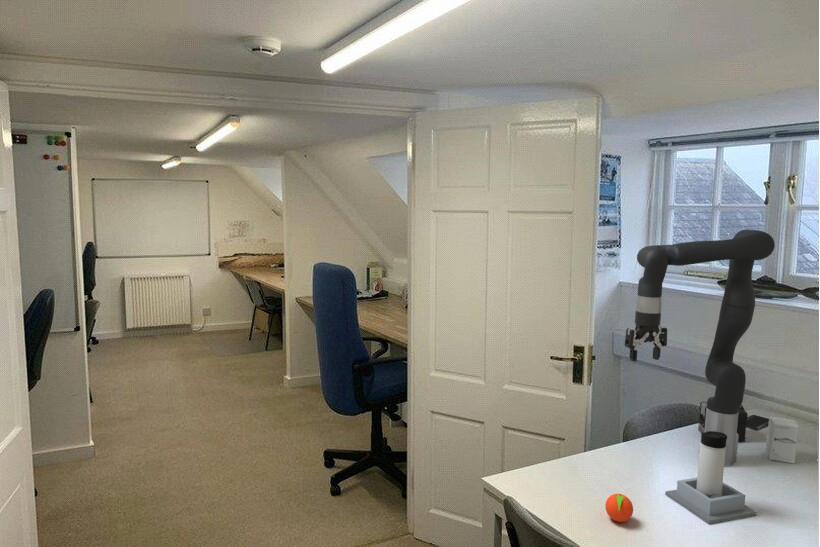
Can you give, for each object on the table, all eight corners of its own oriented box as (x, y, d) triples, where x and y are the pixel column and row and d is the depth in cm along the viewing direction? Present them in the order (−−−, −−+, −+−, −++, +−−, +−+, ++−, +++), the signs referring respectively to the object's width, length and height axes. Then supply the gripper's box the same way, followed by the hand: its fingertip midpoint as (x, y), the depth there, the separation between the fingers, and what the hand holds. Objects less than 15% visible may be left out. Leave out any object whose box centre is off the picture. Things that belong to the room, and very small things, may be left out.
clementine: (632, 531, 152) (634, 505, 151) (603, 526, 154) (605, 500, 153) (632, 516, 159) (634, 491, 158) (605, 510, 161) (606, 486, 161)
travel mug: (711, 509, 161) (718, 438, 159) (690, 498, 167) (696, 430, 165) (726, 504, 164) (733, 435, 162) (705, 493, 170) (711, 426, 167)
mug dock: (709, 487, 176) (711, 471, 175) (755, 515, 161) (757, 497, 160) (665, 494, 171) (666, 478, 170) (708, 524, 156) (710, 506, 155)
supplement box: (769, 460, 195) (772, 423, 194) (765, 451, 202) (768, 415, 200) (795, 464, 192) (799, 427, 191) (790, 455, 199) (794, 419, 198)
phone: (774, 420, 229) (757, 429, 220) (774, 423, 229) (757, 431, 220) (753, 414, 235) (735, 422, 226) (752, 417, 235) (734, 425, 226)
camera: (694, 428, 221) (697, 389, 219) (734, 431, 219) (738, 392, 217) (704, 440, 210) (708, 399, 208) (746, 443, 208) (750, 402, 206)
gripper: (637, 313, 182) (633, 364, 184) (675, 311, 186) (671, 361, 188) (621, 308, 189) (618, 358, 191) (658, 306, 193) (654, 355, 195)
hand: (644, 360), depth 190 cm, fingers open, 8 cm apart
